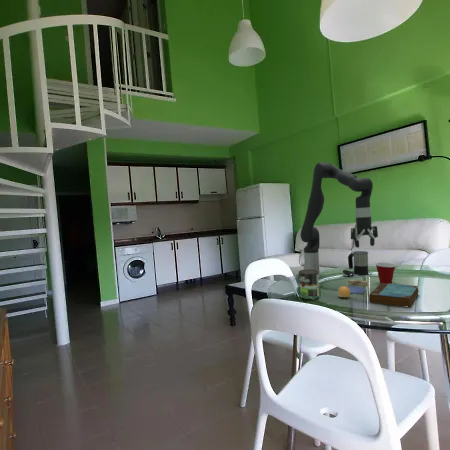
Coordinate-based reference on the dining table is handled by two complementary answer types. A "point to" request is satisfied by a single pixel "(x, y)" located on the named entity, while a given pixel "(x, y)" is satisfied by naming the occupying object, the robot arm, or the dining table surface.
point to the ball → (344, 291)
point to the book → (394, 294)
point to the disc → (356, 289)
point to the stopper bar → (357, 282)
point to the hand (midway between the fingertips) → (364, 246)
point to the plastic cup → (385, 272)
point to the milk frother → (358, 263)
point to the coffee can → (309, 282)
